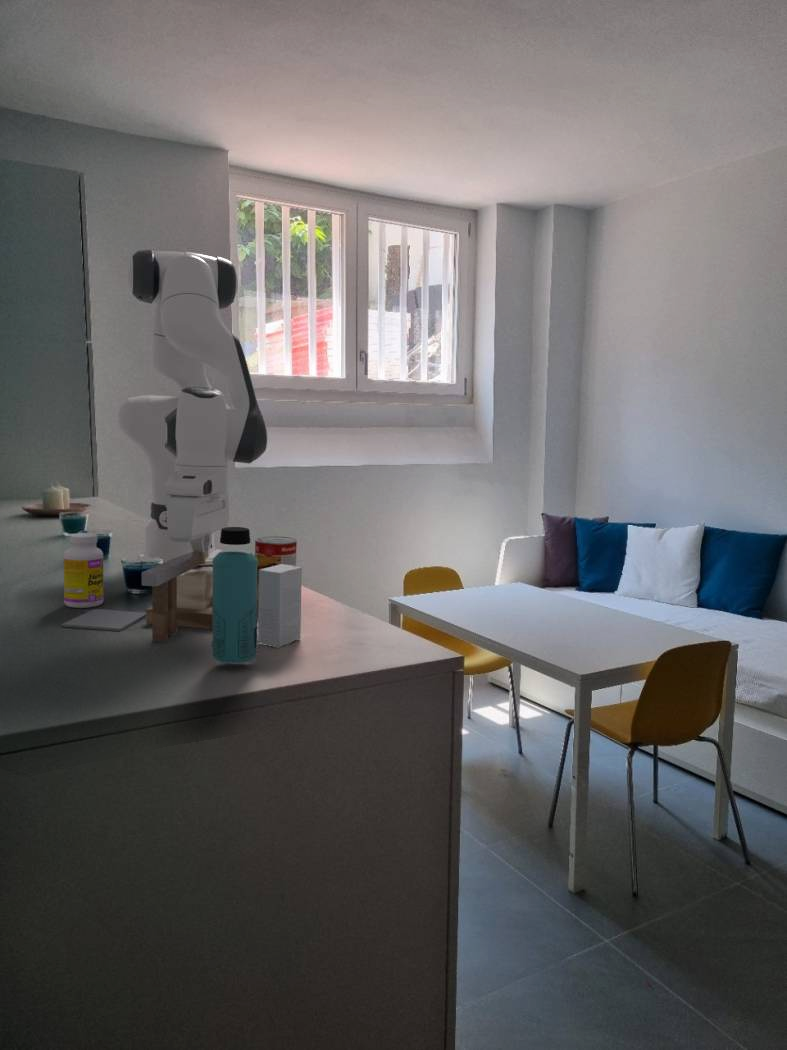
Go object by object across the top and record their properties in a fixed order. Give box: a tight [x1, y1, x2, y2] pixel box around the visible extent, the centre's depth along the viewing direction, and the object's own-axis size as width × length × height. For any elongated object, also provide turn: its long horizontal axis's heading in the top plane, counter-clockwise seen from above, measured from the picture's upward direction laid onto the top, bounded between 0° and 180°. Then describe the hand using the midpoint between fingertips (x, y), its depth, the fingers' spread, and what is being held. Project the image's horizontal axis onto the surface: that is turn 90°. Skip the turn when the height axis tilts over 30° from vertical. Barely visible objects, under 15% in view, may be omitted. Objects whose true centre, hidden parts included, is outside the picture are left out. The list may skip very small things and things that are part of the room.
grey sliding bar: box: [141, 551, 205, 587], centre depth 120 cm, size 19×3×2 cm, turn 173°
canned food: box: [254, 536, 298, 604], centre depth 143 cm, size 8×8×12 cm
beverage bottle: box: [210, 526, 259, 664], centre depth 104 cm, size 6×7×20 cm
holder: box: [145, 577, 212, 643], centre depth 125 cm, size 21×12×9 cm, turn 173°
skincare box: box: [257, 564, 303, 648], centre depth 117 cm, size 6×4×12 cm
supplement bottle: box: [63, 532, 104, 609], centre depth 134 cm, size 7×7×13 cm
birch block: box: [177, 569, 213, 610], centre depth 129 cm, size 5×5×8 cm
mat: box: [62, 608, 146, 632], centre depth 125 cm, size 10×10×1 cm
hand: (200, 559), depth 131 cm, fingers closed
